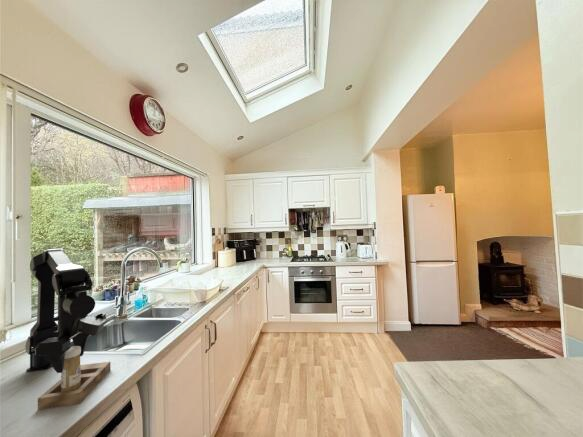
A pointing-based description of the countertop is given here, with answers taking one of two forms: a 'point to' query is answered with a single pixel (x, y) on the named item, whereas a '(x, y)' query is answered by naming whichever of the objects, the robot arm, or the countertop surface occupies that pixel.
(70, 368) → the sprinkles bottle
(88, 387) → the socket block
